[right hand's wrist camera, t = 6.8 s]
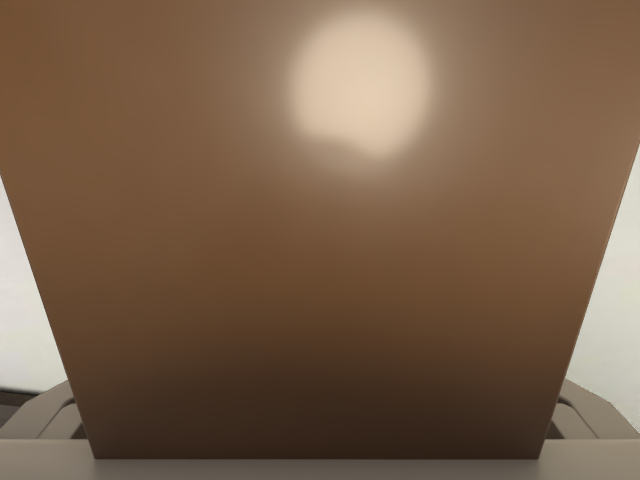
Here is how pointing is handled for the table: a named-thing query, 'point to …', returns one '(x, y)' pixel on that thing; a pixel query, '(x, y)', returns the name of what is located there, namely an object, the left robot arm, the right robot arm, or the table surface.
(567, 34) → the box
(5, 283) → the table surface
